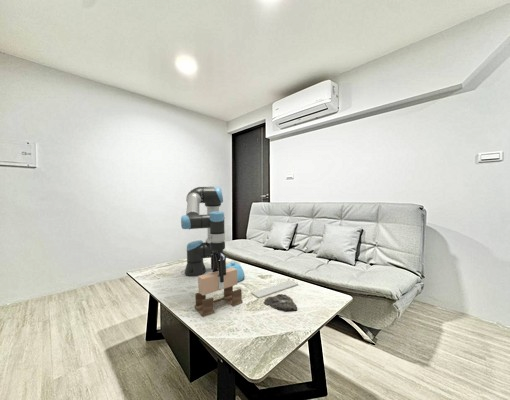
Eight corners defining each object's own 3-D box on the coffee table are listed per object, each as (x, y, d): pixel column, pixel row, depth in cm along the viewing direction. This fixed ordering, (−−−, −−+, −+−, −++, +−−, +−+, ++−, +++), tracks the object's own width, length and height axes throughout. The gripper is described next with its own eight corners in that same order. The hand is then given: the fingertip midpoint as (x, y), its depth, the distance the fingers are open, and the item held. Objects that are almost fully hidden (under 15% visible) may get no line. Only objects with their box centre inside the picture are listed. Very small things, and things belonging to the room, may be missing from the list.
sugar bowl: (218, 278, 149) (217, 262, 149) (236, 273, 158) (236, 258, 158) (229, 285, 137) (229, 267, 137) (248, 279, 147) (248, 262, 146)
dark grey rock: (276, 293, 125) (259, 304, 113) (276, 287, 125) (259, 296, 113) (306, 304, 112) (291, 316, 101) (306, 296, 112) (291, 308, 101)
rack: (194, 308, 110) (194, 293, 110) (232, 295, 122) (232, 283, 122) (202, 317, 101) (202, 301, 101) (242, 302, 114) (242, 289, 114)
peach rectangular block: (198, 292, 107) (198, 276, 107) (232, 281, 120) (232, 267, 120) (202, 295, 103) (202, 278, 103) (237, 284, 116) (237, 269, 116)
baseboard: (248, 293, 127) (258, 299, 118) (248, 288, 126) (258, 294, 118) (287, 281, 143) (298, 286, 135) (287, 276, 143) (298, 281, 135)
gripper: (203, 239, 117) (204, 282, 117) (218, 245, 102) (220, 294, 102) (216, 238, 121) (217, 279, 121) (232, 243, 106) (233, 290, 106)
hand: (218, 286), depth 112 cm, fingers closed on peach rectangular block, 5 cm apart
